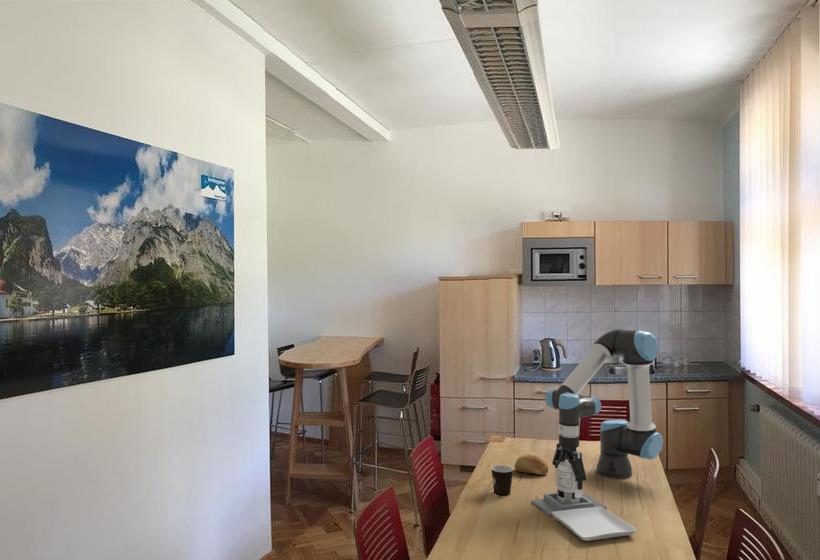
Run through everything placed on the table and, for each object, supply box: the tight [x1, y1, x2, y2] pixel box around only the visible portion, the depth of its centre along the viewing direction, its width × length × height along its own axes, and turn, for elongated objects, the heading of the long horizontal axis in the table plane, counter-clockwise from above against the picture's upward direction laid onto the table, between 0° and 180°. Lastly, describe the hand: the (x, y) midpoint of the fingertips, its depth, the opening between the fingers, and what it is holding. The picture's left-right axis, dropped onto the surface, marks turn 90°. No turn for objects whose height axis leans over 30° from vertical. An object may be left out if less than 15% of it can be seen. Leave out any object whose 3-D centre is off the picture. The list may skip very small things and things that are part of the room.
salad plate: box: [551, 507, 638, 542], centre depth 207 cm, size 21×21×3 cm
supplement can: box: [556, 460, 580, 505], centre depth 227 cm, size 8×8×15 cm
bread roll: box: [514, 454, 549, 476], centre depth 264 cm, size 10×15×8 cm, turn 64°
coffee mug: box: [490, 464, 514, 497], centre depth 241 cm, size 12×9×10 cm
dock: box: [530, 491, 608, 518], centre depth 227 cm, size 24×14×3 cm, turn 107°
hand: (568, 491), depth 227 cm, fingers open, 13 cm apart
